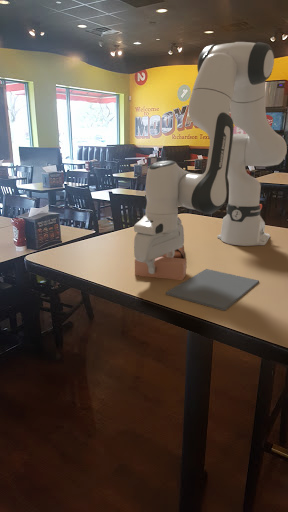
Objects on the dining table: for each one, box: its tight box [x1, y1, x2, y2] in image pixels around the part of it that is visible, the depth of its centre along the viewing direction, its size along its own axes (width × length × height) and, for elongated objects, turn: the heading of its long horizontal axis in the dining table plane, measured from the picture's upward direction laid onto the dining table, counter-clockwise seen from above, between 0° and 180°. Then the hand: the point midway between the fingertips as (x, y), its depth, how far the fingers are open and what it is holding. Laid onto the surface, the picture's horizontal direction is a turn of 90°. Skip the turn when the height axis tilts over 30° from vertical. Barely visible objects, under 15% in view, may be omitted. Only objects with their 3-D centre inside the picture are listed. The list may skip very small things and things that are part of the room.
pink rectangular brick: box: [134, 257, 187, 281], centre depth 108 cm, size 4×14×5 cm, turn 74°
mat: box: [165, 268, 260, 312], centre depth 99 cm, size 22×16×1 cm
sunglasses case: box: [161, 244, 186, 259], centre depth 124 cm, size 18×7×7 cm
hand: (160, 269), depth 109 cm, fingers open, 7 cm apart
